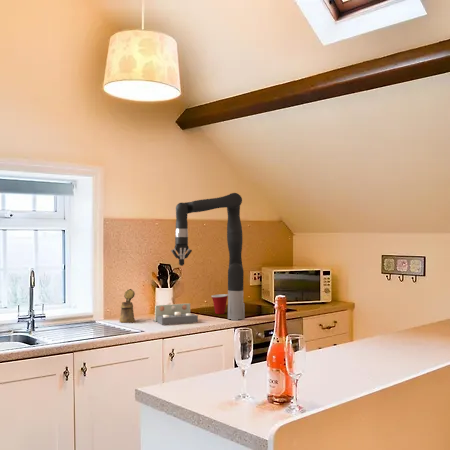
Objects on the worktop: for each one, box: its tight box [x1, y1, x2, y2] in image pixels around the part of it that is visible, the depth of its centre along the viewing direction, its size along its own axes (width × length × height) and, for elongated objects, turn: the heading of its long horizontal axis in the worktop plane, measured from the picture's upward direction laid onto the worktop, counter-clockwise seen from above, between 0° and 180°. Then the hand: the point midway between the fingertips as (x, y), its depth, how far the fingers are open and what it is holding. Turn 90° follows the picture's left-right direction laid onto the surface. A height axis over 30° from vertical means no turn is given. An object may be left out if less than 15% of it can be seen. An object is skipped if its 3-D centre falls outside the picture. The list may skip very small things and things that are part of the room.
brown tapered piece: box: [119, 288, 136, 324], centre depth 329 cm, size 9×14×18 cm, turn 178°
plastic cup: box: [211, 293, 228, 315], centre depth 360 cm, size 11×11×12 cm
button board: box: [156, 313, 199, 326], centre depth 324 cm, size 22×8×4 cm, turn 116°
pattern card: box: [152, 303, 191, 323], centre depth 332 cm, size 22×4×10 cm, turn 116°
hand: (181, 265), depth 335 cm, fingers closed
